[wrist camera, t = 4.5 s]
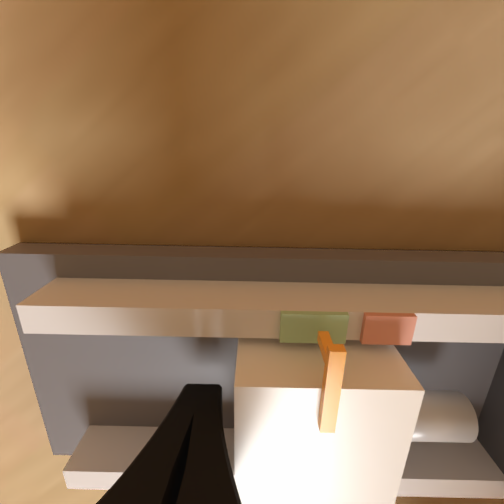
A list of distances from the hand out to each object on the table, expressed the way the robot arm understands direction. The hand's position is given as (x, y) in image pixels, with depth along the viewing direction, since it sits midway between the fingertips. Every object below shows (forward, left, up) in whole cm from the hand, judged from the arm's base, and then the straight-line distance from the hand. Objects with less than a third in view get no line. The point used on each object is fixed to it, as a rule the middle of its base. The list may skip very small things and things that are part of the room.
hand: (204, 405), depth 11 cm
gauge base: (-3, 0, -3) cm, 5 cm away
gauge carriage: (-5, -1, -2) cm, 5 cm away
